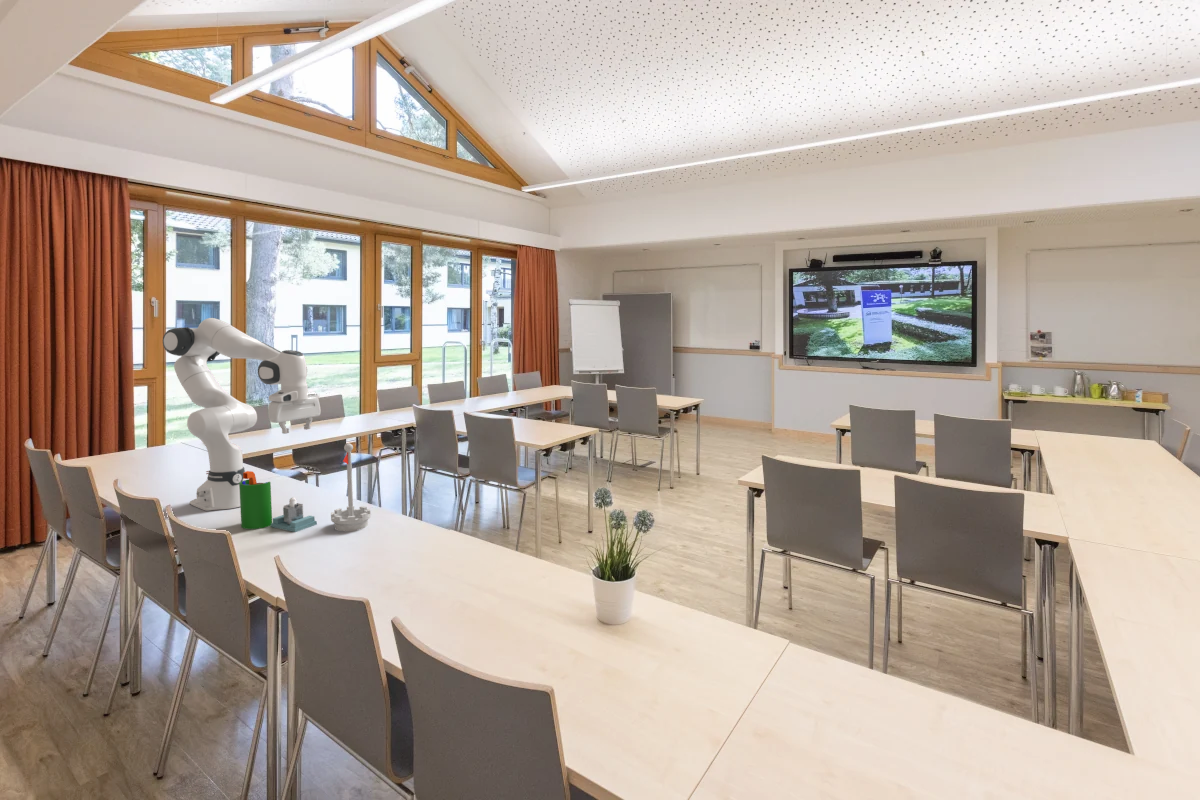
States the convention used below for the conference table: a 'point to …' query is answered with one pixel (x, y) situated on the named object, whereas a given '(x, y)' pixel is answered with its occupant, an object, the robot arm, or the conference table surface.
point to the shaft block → (294, 525)
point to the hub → (292, 512)
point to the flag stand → (350, 504)
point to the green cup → (255, 502)
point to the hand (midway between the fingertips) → (296, 431)
